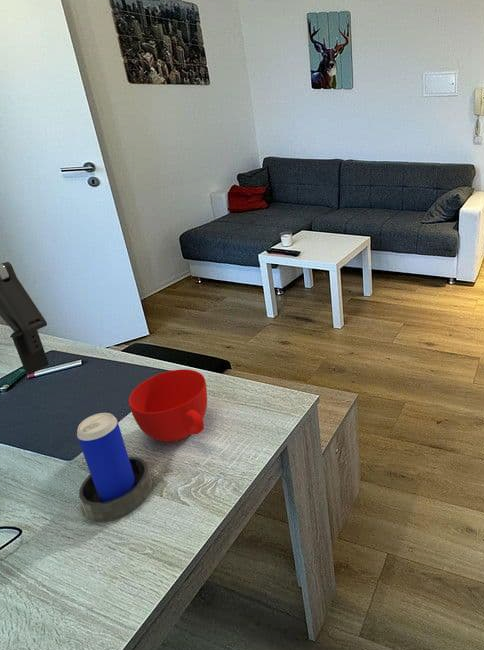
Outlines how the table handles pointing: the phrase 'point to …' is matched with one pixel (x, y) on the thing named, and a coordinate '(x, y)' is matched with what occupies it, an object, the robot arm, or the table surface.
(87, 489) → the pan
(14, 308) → the robot arm
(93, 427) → the beverage can
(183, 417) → the ceramic cup
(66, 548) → the table surface
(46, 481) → the table surface
